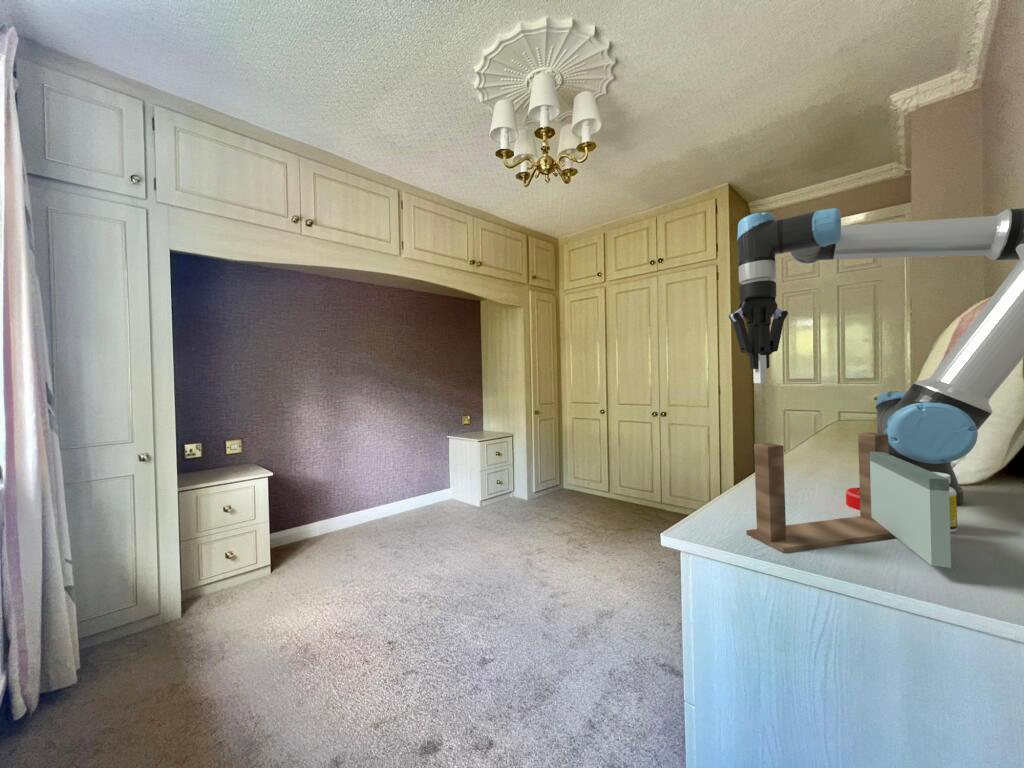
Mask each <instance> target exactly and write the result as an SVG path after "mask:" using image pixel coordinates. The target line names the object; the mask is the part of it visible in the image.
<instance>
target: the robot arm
mask: <svg viewBox="0 0 1024 768" xmlns="http://www.w3.org/2000/svg"><path fill="white" fill-rule="evenodd" d="M736 241H737V243H736V244H737V262H738V264H737V265H738V266H737V267H738V283H739V284H740V286H739V287H738V292H739V293H738V295H739V296H738V299H739V306H738V310H736V311H734V313H729V315H728V318H729V319H730V321H731V322H732V324H733V327H734V331H735V335H736V338H737V342H738V345H739V350H740V352H741V353H742V354H746V356H748V357H749V368H750V369H751V370H752V371H753V374H752V375H753V384H767V383H768V381H767V379H768V376H767V375H768V374H767V373H768V372H767V369H770V355H772V354H773V353H775V352H777V351H778V350H779V347H780V343H781V342H780V341H781V335H782V331H783V327H784V322H785V320H786V318H787V316H788V315H789V312H788V310H782V309H781V308H779V307H778V303H777V301H776V299H777V298H776V297H777V282H776V281H774V280H776V279H777V267H776V255H779V254H786V253H790V254H791V256H792V257H793V258H794V260H795V261H797V262H799V263H801V264H814V263H816V262H818V261H830V260H832V261H833V260H860V259H861V260H863V259H865V260H867V259H892V258H893V259H895V258H927V257H928V258H930V257H931V258H932V257H933V258H934V257H936V258H937V257H964V256H965V257H966V256H967V257H968V256H970V257H971V256H986V257H987V258H988V259H990V260H991V261H1010V260H1011V261H1014V260H1015V261H1018V263H1016V265H1015V266H1014V268H1013V269H1012V270H1011V271H1010V273H1009V274H1008V276H1007V277H1006V278H1005V280H1004V281H1003V282H1002V283H1001V284H1000V285H999V287H998V289H996V291H995V293H993V295H992V296H991V298H990V299H989V300H988V301H987V302H986V304H984V307H983V308H982V309H981V310H980V312H979V313H978V315H977V316H976V317H975V318H974V320H973V321H972V322H971V323H970V325H969V326H968V327H967V329H965V331H964V333H963V334H962V335H961V336H960V338H959V339H958V341H957V342H956V343H955V344H954V345H953V347H952V348H951V350H950V351H949V353H948V354H947V355H946V356H945V357H944V358H943V360H942V361H941V362H940V364H939V365H938V366H937V368H936V369H935V370H934V371H933V373H932V374H931V376H930V377H929V378H925V379H922V380H917V381H914V382H913V383H912V385H910V387H909V388H908V390H906V391H893V392H890V391H889V392H883V393H881V394H879V395H878V396H877V397H876V403H875V409H876V416H877V417H876V420H877V421H876V422H877V423H876V424H877V425H876V426H877V429H876V430H877V432H876V433H880V434H888V448H889V454H890V455H892V456H894V457H897V458H899V459H902V460H904V461H906V462H909V463H911V464H914V465H916V466H918V467H921V468H923V469H926V470H928V471H930V472H939V473H945V474H948V475H950V480H951V482H950V484H949V487H952V488H953V489H954V490H955V491H956V496H957V505H961V504H963V503H964V501H965V499H964V498H965V497H964V496H965V495H964V490H963V488H962V487H961V486H960V484H959V481H958V478H957V475H956V473H955V472H954V469H953V466H952V462H955V461H958V460H960V459H963V458H965V456H967V455H968V454H969V453H970V452H971V451H972V450H973V449H974V447H975V446H976V444H977V441H978V437H979V433H978V431H979V429H980V428H981V427H982V426H983V424H984V423H985V422H986V421H987V420H988V419H989V417H990V416H991V415H992V414H993V410H992V406H991V405H990V401H989V400H990V398H991V397H993V395H994V394H995V392H997V390H998V389H999V388H1000V387H1001V386H1002V385H1003V384H1004V382H1005V381H1006V379H1007V378H1008V377H1009V376H1010V375H1011V373H1012V372H1013V371H1014V370H1015V369H1016V368H1017V366H1019V363H1021V361H1022V360H1023V359H1024V208H1022V207H1021V208H1011V209H1004V211H1001V212H999V213H998V214H996V215H988V216H987V215H985V216H973V217H971V216H968V217H958V218H957V217H955V218H943V219H942V218H941V219H940V218H939V219H927V220H914V221H911V220H910V221H901V222H885V223H870V224H854V225H843V226H842V213H841V210H840V208H836V207H833V208H828V209H827V208H826V209H818V210H815V211H812V212H808V213H803V214H799V215H794V216H789V217H786V218H781V219H776V218H775V214H774V213H772V212H766V211H764V212H756V213H752V214H749V215H747V216H744V217H743V218H741V219H740V220H739V222H738V224H737V238H736ZM771 318H773V319H771ZM744 320H745V321H744Z"/></svg>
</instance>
